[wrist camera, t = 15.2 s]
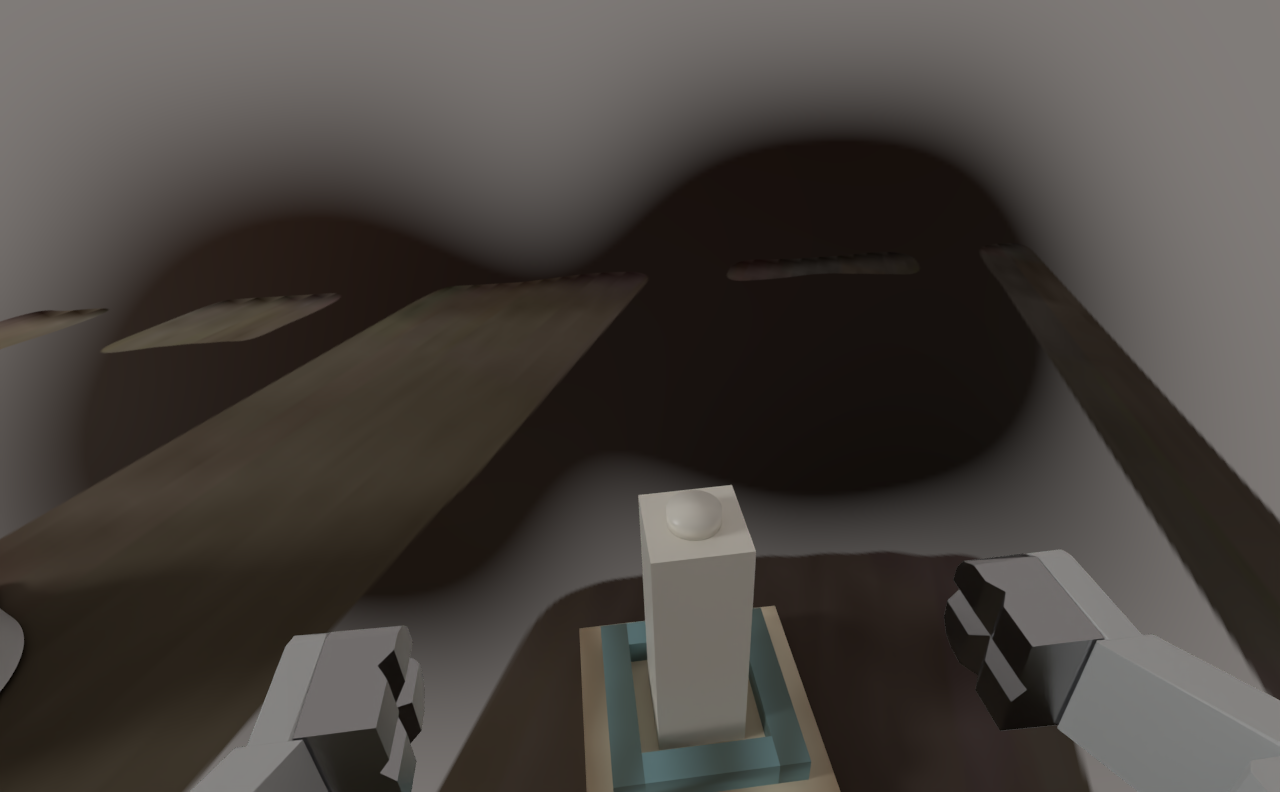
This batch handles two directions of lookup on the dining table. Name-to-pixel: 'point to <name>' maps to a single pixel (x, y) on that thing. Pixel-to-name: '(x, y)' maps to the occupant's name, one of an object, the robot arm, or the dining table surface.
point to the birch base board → (708, 773)
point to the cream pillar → (697, 613)
